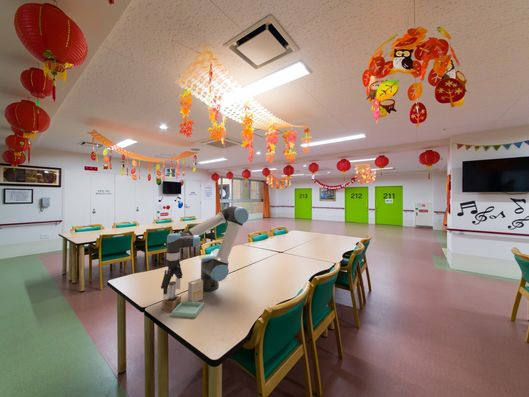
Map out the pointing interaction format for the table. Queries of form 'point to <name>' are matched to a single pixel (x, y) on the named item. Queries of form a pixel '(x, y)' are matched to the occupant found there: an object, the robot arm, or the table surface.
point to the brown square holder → (171, 303)
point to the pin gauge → (172, 291)
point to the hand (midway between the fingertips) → (172, 293)
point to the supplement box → (195, 290)
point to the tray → (188, 309)
